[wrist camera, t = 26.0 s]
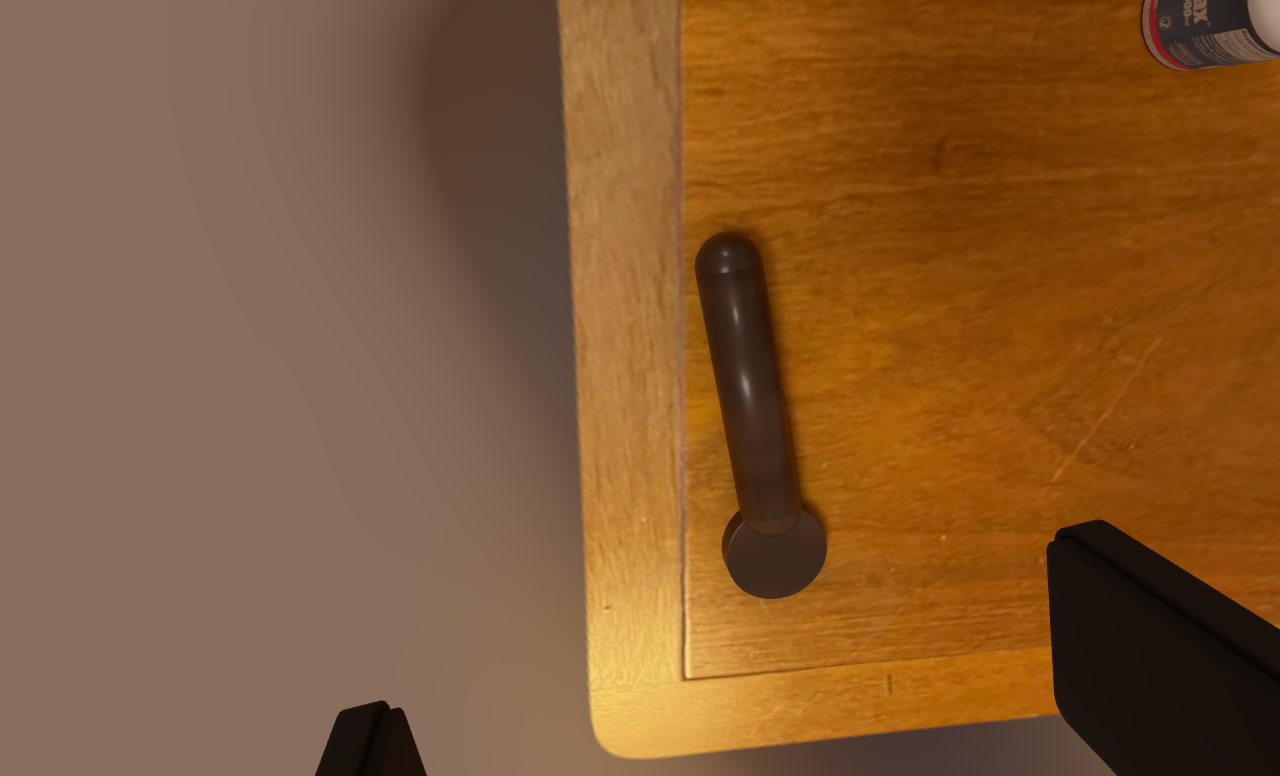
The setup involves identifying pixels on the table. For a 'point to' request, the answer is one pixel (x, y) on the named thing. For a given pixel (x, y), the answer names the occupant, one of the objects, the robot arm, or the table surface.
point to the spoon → (755, 426)
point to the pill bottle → (1211, 32)
